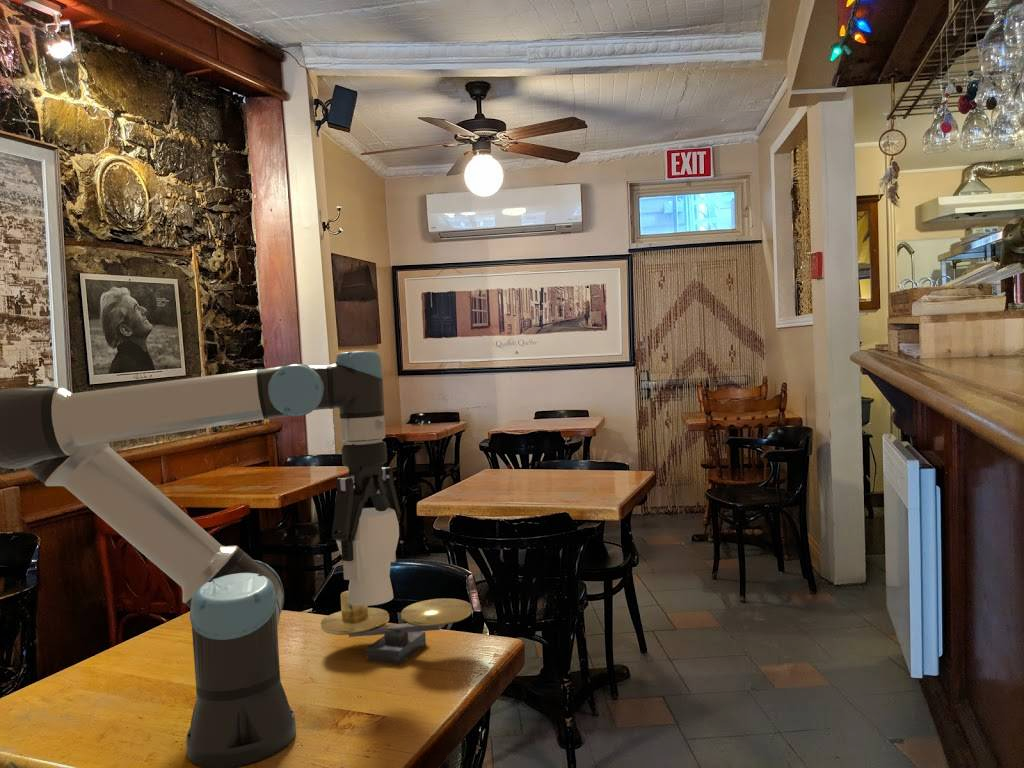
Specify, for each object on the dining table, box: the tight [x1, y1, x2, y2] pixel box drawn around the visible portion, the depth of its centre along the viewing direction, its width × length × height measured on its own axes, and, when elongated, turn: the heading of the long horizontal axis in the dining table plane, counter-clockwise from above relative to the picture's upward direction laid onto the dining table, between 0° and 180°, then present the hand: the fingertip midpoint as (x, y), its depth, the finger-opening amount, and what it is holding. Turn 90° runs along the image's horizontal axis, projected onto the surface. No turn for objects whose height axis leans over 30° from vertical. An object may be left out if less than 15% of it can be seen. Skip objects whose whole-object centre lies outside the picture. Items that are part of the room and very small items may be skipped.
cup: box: [335, 507, 400, 607], centre depth 126 cm, size 11×11×15 cm
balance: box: [320, 584, 473, 665], centre depth 140 cm, size 13×31×12 cm, turn 69°
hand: (371, 570), depth 126 cm, fingers closed on cup, 11 cm apart
